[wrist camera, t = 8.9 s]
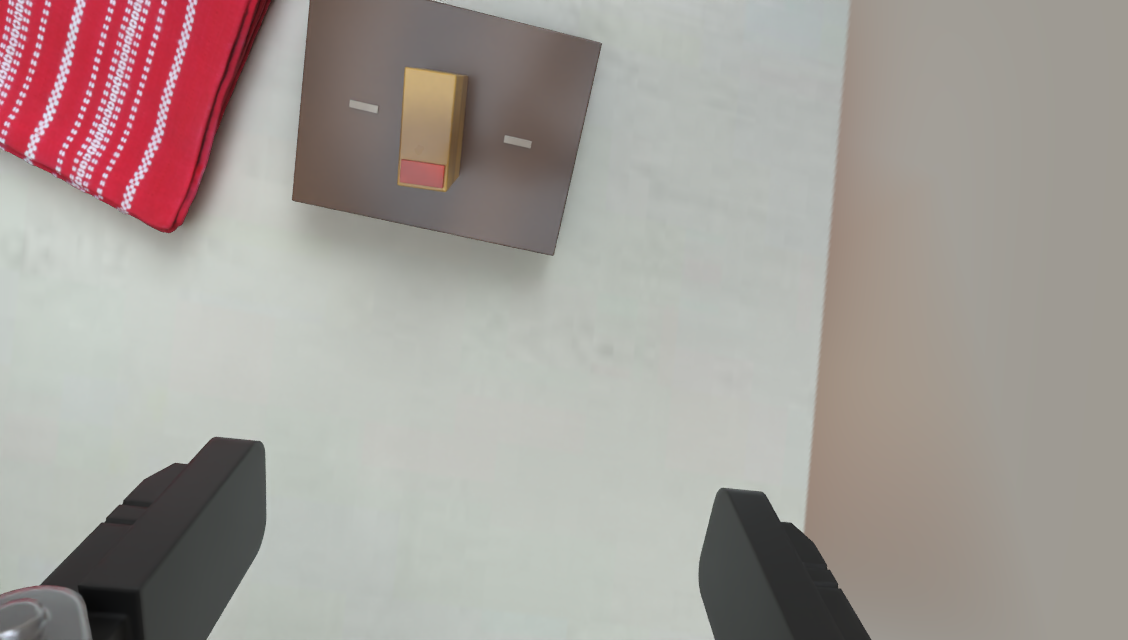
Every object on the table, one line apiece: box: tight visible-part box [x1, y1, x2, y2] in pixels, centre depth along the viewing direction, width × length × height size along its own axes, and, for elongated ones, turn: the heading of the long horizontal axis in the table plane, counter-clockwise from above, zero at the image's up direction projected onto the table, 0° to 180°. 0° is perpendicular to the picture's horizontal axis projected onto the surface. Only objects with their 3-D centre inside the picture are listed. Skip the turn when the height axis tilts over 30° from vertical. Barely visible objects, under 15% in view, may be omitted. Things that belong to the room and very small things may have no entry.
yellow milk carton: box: [397, 67, 468, 192], centre depth 31 cm, size 5×2×5 cm, turn 172°
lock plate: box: [292, 0, 602, 256], centre depth 35 cm, size 14×11×3 cm
